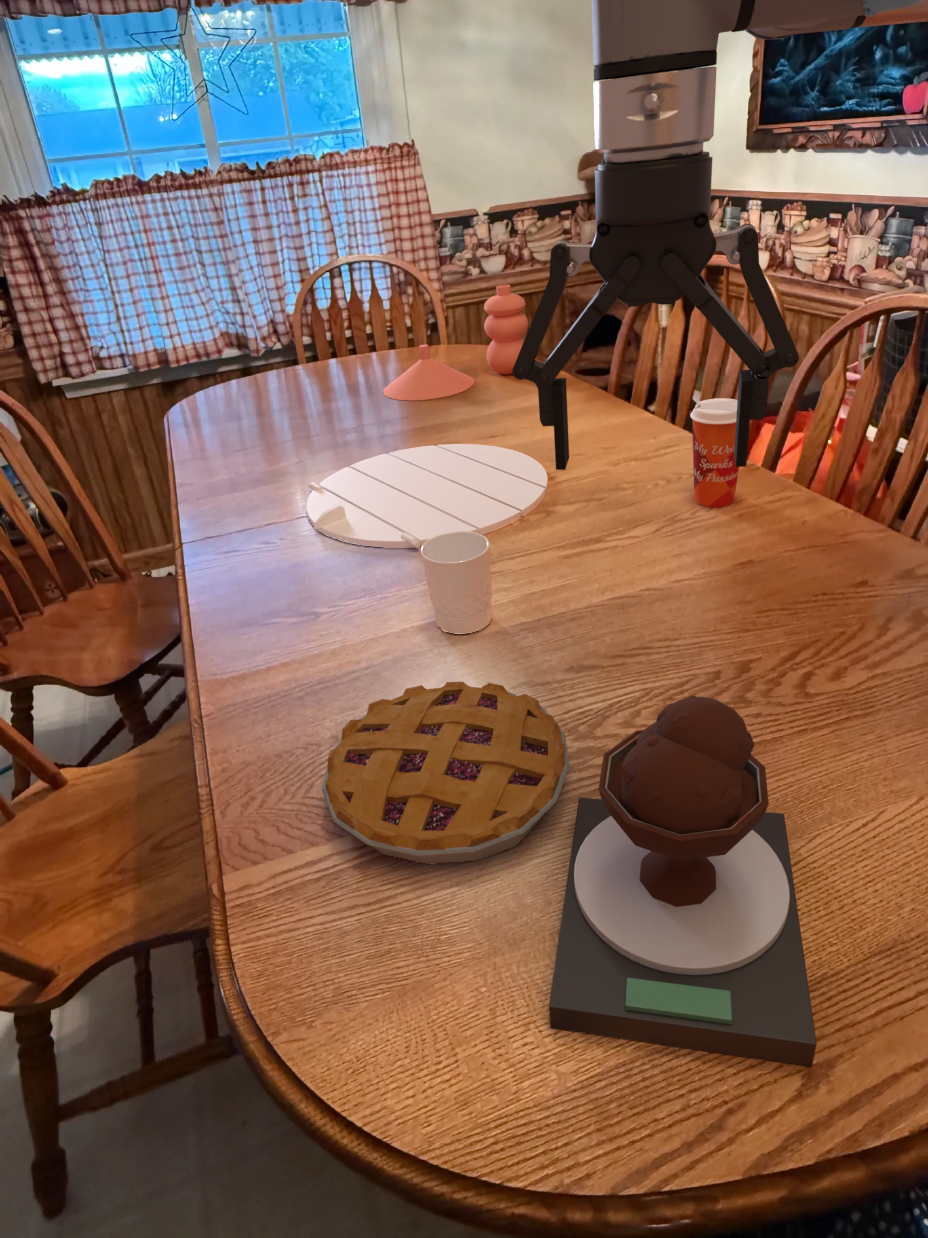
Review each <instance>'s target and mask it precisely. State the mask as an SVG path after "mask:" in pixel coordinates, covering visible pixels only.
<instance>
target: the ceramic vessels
mask: <svg viewBox="0 0 928 1238" xmlns="http://www.w3.org/2000/svg"><path fill="white" fill-rule="evenodd" d="M495 288H496V289H495V290H496V294H495V295H493V296H491V297H489V298H488V299H487V300H486V301H485V302H484V306H483V310H484V311H485V312H486V314H487V315H488V316H487V317H486V319H485V320H484V325H483V328H484V332H485V334H486V336H487V337H489V338H490V339H492V340H491V342H490V343H489V345H488V346H487V350H486V360H487V363H488V365H489V367H490V368H491V369H492V370H493V371H495V373H498V374H499V375H513V372H512V371H513V367H514V365H515V362H516V360H517V357H518V355H519V352H520V350H521V347H522V345H523V342H524V340H525V338H523V335H524V334H525V333H526V332H527V330H528V329H529V319H528V317H527V315H526V314H525V313H523V312H522V311H524V309H525V306H526V305H527V304H526V300H525V298H523V296H521V295H520V294H516V293H512V291H511V285H510V284H501V285H497V286H496V287H495ZM418 348H419V349H418V351H419V355H420V359H419V360H418V361H417V362H415V363H414V364H413V365H412V366H410V367H409V368H408V369H407V370H406V371H404V372H403V373H402V374H400V375H399V376H398V377H397V378H395V379H394V380H393V381H392V382H390V383H389V384H387V386H385V387H384V389H383V391H382V393H383V395H384V396H385V397H387V398H389V399H393V400H397V401H425V400H426V401H427V400H436V399H441V398H446V397H450V396H454V395H456V394H460V393H462V392H464V391H467V390H469V389H470V388H472V387H473V386H474V384H475V383H476V382H475V379H474V378H473V377H471V376H470V375H467V374H465V373H463V372H461V371H459V370H457V369H455V368H452V367H451V366H448V365H446V364H444V363H441V362H440V361H437V360H435V359H433V358H431V357H430V348H429V344H420V345H419V346H418Z"/></svg>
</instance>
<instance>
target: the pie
mask: <svg viewBox="0 0 928 1238" xmlns="http://www.w3.org/2000/svg"><path fill="white" fill-rule="evenodd" d="M569 769H570V760H569V751H568V746H567V739H566V733H565V731H563V729H562V728H561V726H559V724H558V723H557V721H556V719H554V717H553V716H552V715H551V714H550V713H549V712H548V711H547V710H546V709H545V708H544V707H543V706H542V705H541V703H540V702H539V699H537V698H535V697H533V696H530V695H528V694H526V693H523V694H519V695H517V694H515V693H513V692H510V691H508V690H507V689H506V688H505V686H504V685H503V684H498V683H497V684H496V683H491V682H488V683H486V684H485V685H483V686H482V687H476V686H470V685H468V684H467V683H466V682H464V681H446V683H444V685H443V686H441V687H435V688H425V687H424V686H423V684H421V685H416V686H412V687H408V688H405V689H404V691H403V693H402V695H400V696H398V697H397V696H396V697H395V698H392V699H386V698H381V699H379V700H376V701H373V702H370V703H369V704H368V707H367V711H366V714H365V715H363V716H362V717H360V718H358V719H350V720H349V721H348V722H347V723H346V724H345V726H343V728H342V729H341V739H340V740H339V741H338V743H337V744H336V745H335V747H334V748H333V749H331V750H330V752H329V754H328V757H327V764H326V770H325V772H324V773H325V774H324V778H323V781H322V787H321V791H322V794H323V797H324V800H325V803H326V805H327V808H328V811H329V813H330V817H331V820H332V821H333V823H335V824H336V825H338V826H339V827H341V828H342V829H344V830H345V831H346V832H348V833H350V834H351V835H352V836H354V837H355V838H357V839H358V840H360V841H362V843H364V844H365V845H367V846H370V847H371V848H373V849H374V848H375V849H374V850H376V851H377V852H379V853H381V854H382V855H383V856H387V855H389V856H388V857H391V856H394V857H393V858H396V857H398V858H397V859H400V858H403V859H402V860H405V859H408V860H407V861H409V860H413V861H412V862H414V861H417V862H416V863H418V862H421V863H420V864H423V863H426V864H425V865H427V864H430V865H432V864H431V863H444V864H448V863H447V862H458V863H462V862H461V861H472V862H475V861H474V860H478V861H480V860H479V859H481V858H483V859H485V858H484V857H486V858H488V857H487V856H489V857H491V856H490V855H492V854H495V853H497V854H499V853H498V852H500V853H503V852H505V851H504V850H506V849H509V848H511V849H514V848H515V847H516V846H517V845H518V844H520V842H521V841H522V840H523V839H524V838H525V837H526V836H528V834H529V833H530V832H531V831H532V830H533V829H534V828H535V827H536V826H537V825H538V824H539V823H540V821H541V819H542V818H543V816H544V814H545V813H547V812H548V811H549V809H551V808H552V807H553V806H554V805H555V804H556V803H557V801H558V799H559V795H560V794H561V790H562V788H563V785H564V782H565V780H566V778H567V774H568V772H569ZM537 823H538V824H537ZM536 824H537V825H536ZM535 825H536V826H535ZM534 826H535V827H534ZM533 827H534V828H533ZM532 828H533V829H532ZM531 829H532V830H531ZM530 830H531V831H530ZM529 831H530V832H529ZM528 832H529V833H528ZM527 833H528V834H527ZM524 836H525V837H524ZM523 837H524V838H523ZM513 847H514V848H513ZM509 850H510V849H509ZM502 851H503V852H502ZM506 851H507V850H506ZM495 855H496V854H495ZM492 856H493V855H492ZM481 860H482V859H481Z"/></svg>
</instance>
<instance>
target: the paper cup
mask: <svg viewBox="0 0 928 1238" xmlns="http://www.w3.org/2000/svg"><path fill="white" fill-rule="evenodd" d="M737 402H738V399H734V398H727V397H726V398H725V397H724V398H723V397H721V398H718V397H717V398H709V399H703V400H701V401H698V402H696V404H695V406H694V408H693V410H692V411H691V412H690V414H689V416H690V418H691V420H692V459H693V460H692V461H693V464H692V465H693V495H694V502H695V501H696V502H695V503H696V504H697V503H698V504H697V505H699V506H702V507H707V508H723V507H727V506H729V505H731V504H733V503H734V501H735V497H736V490H737V485H738V477H739V470H740V467H736V464H735V457H734V446H735V432H736V417H737Z"/></svg>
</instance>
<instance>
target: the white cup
mask: <svg viewBox="0 0 928 1238" xmlns="http://www.w3.org/2000/svg"><path fill="white" fill-rule="evenodd" d="M420 547H421V546H420ZM420 555H421V560H422V566H423V570H424V574H425V578H426V579H425V580H426V585H427V589H428V593H429V598H430V603H431V606H432V608H433V612H434V617H435V621H436V627H437V626H439V627H440V628H441V629H443V630H445V631H448V632H452V633H468V632H474V631H477V630H480V629H482V628H484V627H485V626H487V625H488V624H490V623H491V621H492V620H491V619H493V610H492V596H493V593H492V592H493V591H492V589H493V588H492V584H493V583H492V565H491V564H492V563H491V544H490V540H489V539H488V537H486V536H485V535H481V534H478V533H475V532H468V531H456V532H449V533H444V534H441V535H438V536H435V537H433V538H431V539H429V540H428V541H426V542H425V543H424V544H423V546H422V547H421V548H420ZM488 626H489V625H488ZM488 626H487V627H488ZM440 628H439V629H440ZM485 628H486V627H485ZM485 628H484V629H485ZM441 629H440V630H441ZM482 630H483V629H482ZM480 631H481V630H480Z"/></svg>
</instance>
